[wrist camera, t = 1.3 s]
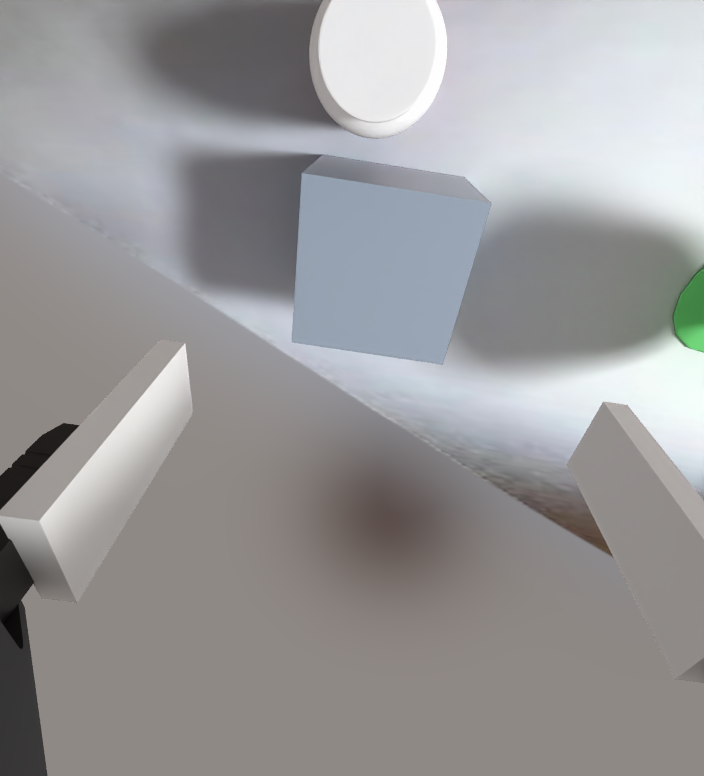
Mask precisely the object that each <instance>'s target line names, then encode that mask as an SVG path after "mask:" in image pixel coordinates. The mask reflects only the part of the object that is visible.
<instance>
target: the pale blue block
mask: <svg viewBox="0 0 704 776" xmlns="http://www.w3.org/2000/svg"><path fill="white" fill-rule="evenodd" d="M490 206H491V202H490V201H489V200H488V199H487V198H486V197H485V196H484V195H482V194H481V193H480V192H479V191H478V190H477V189H476V188H475V187H474V186H473V185H472V184H471V183H470V182H469V181H468V180H467V179H466V178H465V177H460V176H454V175H447V174H441V173H435V172H429V171H422V170H416V169H410V168H404V167H397V166H391V165H385V164H379V163H372V162H366V161H360V160H354V159H347V158H341V157H335V156H329V155H321V156H320V157H319V158H318V159H317V160H316V161H315V162H314V163H312V164H311V165H310V166H309V167H308V168H307V169H306V170H305V171H303V172H302V177H301V194H300V211H299V228H298V245H297V262H296V278H295V295H294V312H293V329H292V342H294V343H300V344H307V345H314V346H320V347H327V348H334V349H341V350H347V351H354V352H361V353H368V354H374V355H381V356H388V357H395V358H401V359H408V360H415V361H422V362H428V363H435V364H442V365H443V362H444V359H445V355H446V352H447V349H448V345H449V342H450V339H451V335H452V332H453V329H454V326H455V322H456V319H457V316H458V312H459V309H460V306H461V302H462V299H463V296H464V292H465V289H466V286H467V283H468V279H469V276H470V273H471V269H472V266H473V263H474V259H475V256H476V253H477V249H478V246H479V243H480V240H481V236H482V233H483V230H484V226H485V223H486V220H487V216H488V213H489V210H490Z"/></svg>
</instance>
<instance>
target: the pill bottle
mask: <svg viewBox="0 0 704 776" xmlns="http://www.w3.org/2000/svg"><path fill="white" fill-rule="evenodd" d="M446 59H447V36H446V29H445V24H444V20H443V16H442V13H441V10H440V8H439V6H438V3H437V1H436V0H323V1H322V3H321V5H320V7H319V10H318V12H317V15H316V17H315V20H314V24H313V27H312V32H311V37H310V46H309V63H310V71H311V76H312V81H313V84H314V87H315V90H316V93H317V95H318V98H319V100H320V102H321V103H322V105H323V107H324V108H325V110H326V111H327V112H328V114H329V115H330V116H331V117H332V119H333V120H335V121H336V122H337V123H338V124H339V125H340V126H341V127H343V128H344V129H346V130H347V131H349V132H351V133H353V134H355V135H358V136H361V137H365V138H375V139H377V138H386V137H390V136H393V135H396V134H399V133H401V132H403V131H404V130H406V129H408V128H409V127H411V126H412V125H413V124H414V123H416V122H417V121H418V120H419V119H420V118H421V117H422V116H423V114H424V113H425V112H426V111H427V109H428V108H429V107H430V105H431V103H432V102H433V100H434V98H435V96H436V94H437V92H438V90H439V87H440V85H441V82H442V78H443V75H444V71H445V66H446Z"/></svg>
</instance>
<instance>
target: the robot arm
mask: <svg viewBox="0 0 704 776" xmlns="http://www.w3.org/2000/svg"><path fill="white" fill-rule="evenodd" d="M192 414H193V408H192V399H191V392H190V382H189V373H188V364H187V356H186V347H185V343H182V342H175V341H167V340H159V341H158V343H156V345H155V346H154V347H153V348H152V349H151V350H150V351H149V352H148V353H147V354H146V355H145V356H144V357H143V358H142V359H141V360H140V362H139V363H138V364H137V365H136V366H135V367H134V368H133V369H132V370H131V371H130V372H129V373H128V374H127V375H126V377H125V378H124V379H123V380H122V381H121V382H120V383H119V384H118V385H117V386H116V387H115V388H114V389H113V391H111V393H110V394H109V395H108V396H107V397H106V398H105V399H104V400H103V401H102V402H101V403H100V404H99V405H98V406H97V407H96V409H95V410H94V411H93V412H92V413H91V414H90V415H89V416H88V417H87V418H86V419H85V420H84V421H83V422H82V423H81V425H73V424H66V423H63V424H61V425H60V426H58V427H56V428H54V429H52V430H51V431H49V432H47V433H45V434H43V435H42V436H41V437H40V438H39V439H38V440H37V441H35V443H33V444H32V446H30V447H29V448H28V449H27V450H26V453H25V455H21V456H20V457H19V458H18V459H17V460H16V461H15V462H14V463H13V464H12V467H11V468H8V469H7V470H6V471H5V472H4V473H3V474H2V475H1V476H0V776H47V770H46V762H45V755H44V747H43V740H42V733H41V725H40V718H39V710H38V703H37V696H36V688H35V680H34V673H33V666H32V658H31V651H30V644H29V636H28V629H27V621H26V615H25V607H24V605H23V603H22V601H21V599H22V598H23V597H24V595H25V594H26V593H27V591H28V590H29V588H30V587H31V586H32V584H34V586H35V587H36V590H37V591H38V593H39V595H40V597H41V598H43V599H51V600H59V601H67V602H74V603H77V602H78V601H79V599H80V598H81V596H82V594H83V593H84V591H85V589H86V588H87V586H88V584H89V583H90V581H91V579H92V578H93V576H94V575H95V573H96V571H97V570H98V568H99V566H100V564H101V563H102V561H103V559H104V558H105V557H106V555H107V553H108V552H109V550H110V548H111V547H112V545H113V543H114V542H115V540H116V539H117V537H118V535H119V534H120V532H121V530H122V529H123V527H124V525H125V524H126V522H127V520H128V519H129V517H130V516H131V514H132V512H133V511H134V509H135V507H136V506H137V504H138V502H139V501H140V499H141V497H142V496H143V494H144V492H145V491H146V489H147V487H148V486H149V484H150V483H151V481H152V480H153V478H154V476H155V474H156V473H157V471H158V470H159V468H160V466H161V465H162V463H163V462H164V460H165V458H166V457H167V455H168V453H169V452H170V450H171V448H172V447H173V445H174V444H175V442H176V440H177V439H178V437H179V435H180V434H181V432H182V430H183V429H184V427H185V425H186V424H187V422H188V421H189V419H190V417H191V416H192ZM567 466H568V468H569V470H570V472H571V474H572V476H573V478H574V480H575V482H576V483H577V485H578V487H579V489H580V491H581V493H582V495H583V497H584V499H585V501H586V503H587V505H588V507H589V509H590V511H591V513H592V515H593V517H594V519H595V521H596V523H597V525H598V527H599V529H600V531H601V533H602V535H603V537H604V539H605V541H606V543H607V545H608V547H609V549H610V551H611V553H612V555H613V557H614V559H615V561H616V563H617V565H618V567H619V569H620V571H621V573H622V575H623V577H624V579H625V581H626V583H627V585H628V587H629V589H630V591H631V593H632V594H633V596H634V599H635V601H636V603H637V605H638V607H639V609H640V611H641V612H642V614H643V616H644V618H645V620H646V622H647V624H648V626H649V628H650V630H651V632H652V634H653V636H654V638H655V640H656V642H657V644H658V646H659V648H660V650H661V652H662V654H663V656H664V658H665V660H666V662H667V664H668V666H669V668H670V670H671V672H672V674H673V676H674V678H675V679H677V680H685V681H693V682H700V683H704V500H703V499H702V498H701V497H700V495H699V494H698V493H697V492H696V490H695V489H694V488H693V487H692V485H691V484H690V483H689V482H688V480H687V479H686V478H685V477H684V475H683V474H682V473H681V472H680V470H679V469H678V468H677V467H676V465H675V464H674V463H673V462H672V460H671V459H670V458H669V457H668V455H667V454H666V453H665V452H664V450H663V449H662V448H661V447H660V445H659V444H658V443H657V442H656V440H655V439H654V438H653V437H652V435H651V434H650V433H649V432H648V430H647V429H646V428H645V427H644V425H643V424H642V423H641V422H640V420H639V419H638V418H637V417H636V415H635V414H634V413H633V412H632V410H631V409H630V408H629V407H628V405H623V404H616V403H609V402H603V403H602V405H601V407H600V408H599V410H598V412H597V414H596V415H595V417H594V419H593V420H592V422H591V424H590V426H589V427H588V429H587V431H586V433H585V434H584V436H583V438H582V439H581V441H580V443H579V445H578V446H577V448H576V450H575V451H574V453H573V455H572V457H571V458H570V460H569V462H568V463H567Z"/></svg>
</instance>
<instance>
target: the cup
mask: <svg viewBox="0 0 704 776" xmlns="http://www.w3.org/2000/svg"><path fill="white" fill-rule="evenodd" d="M673 319H674V325H675V332H676V335H677V336H678V337H679V338H680V339H681V340H682V341H683V343H684V344H685V345H686V346H687V347H688V348H691V349H694V350H697V351H701V352H704V268H703V269H702V270H700V271H699V272H698V273H697V274H696V275H695V276H694V278H693V279H692V280H691V282H690V283H689V284H688V286H687V287H686V288H685V289H684V291H683V292H682V293H681V295H680V297H679V300H678V303H677V306H676V309H675V312H674V315H673Z"/></svg>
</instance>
